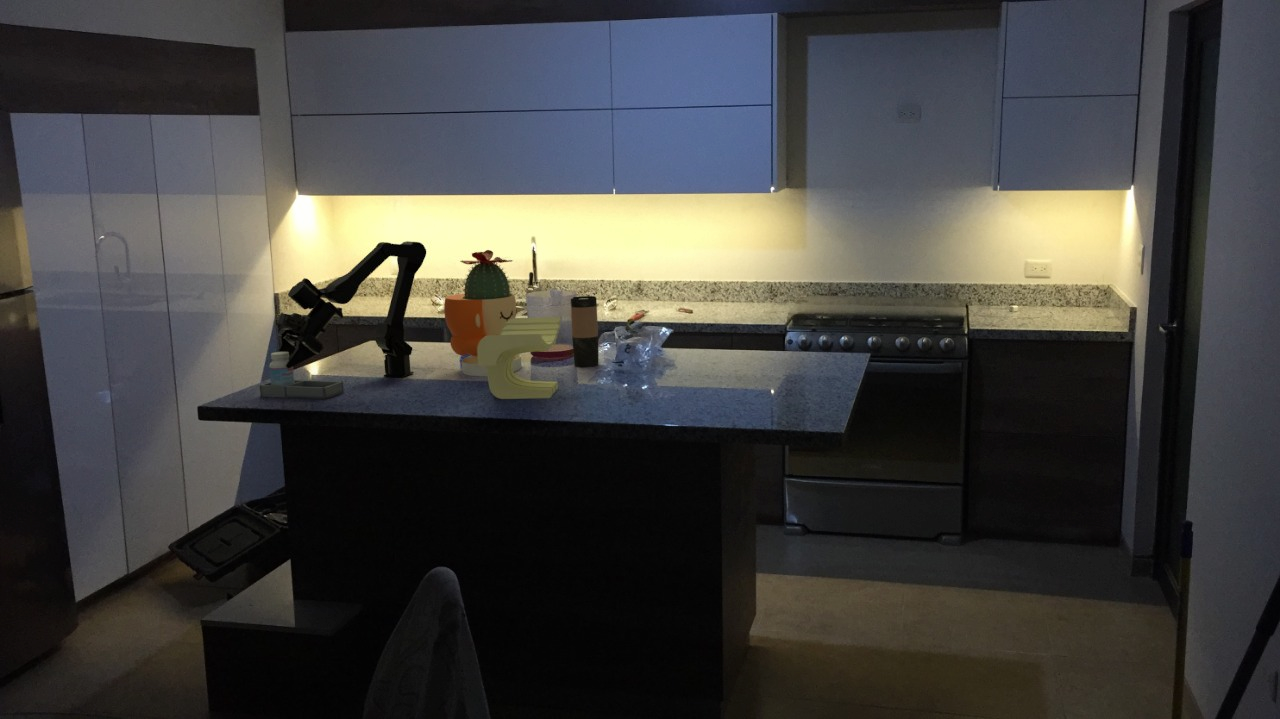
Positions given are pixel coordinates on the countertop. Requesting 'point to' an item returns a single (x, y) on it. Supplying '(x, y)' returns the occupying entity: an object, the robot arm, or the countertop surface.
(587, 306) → the travel mug
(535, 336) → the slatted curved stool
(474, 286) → the potted cactus
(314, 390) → the tray
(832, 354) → the countertop surface
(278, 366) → the pill bottle
